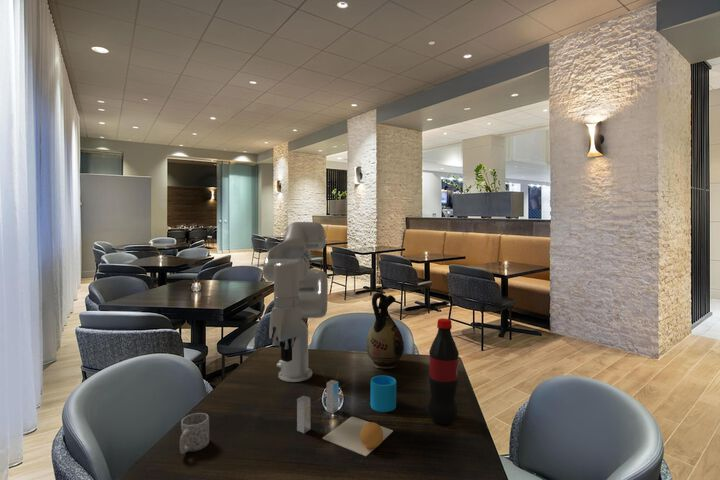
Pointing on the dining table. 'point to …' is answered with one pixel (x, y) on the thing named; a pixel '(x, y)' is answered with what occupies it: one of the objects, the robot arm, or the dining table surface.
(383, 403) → the mug
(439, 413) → the cola bottle
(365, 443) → the ball
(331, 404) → the post
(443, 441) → the dining table surface
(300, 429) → the post
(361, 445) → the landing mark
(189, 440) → the mug
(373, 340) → the ceramic jug
